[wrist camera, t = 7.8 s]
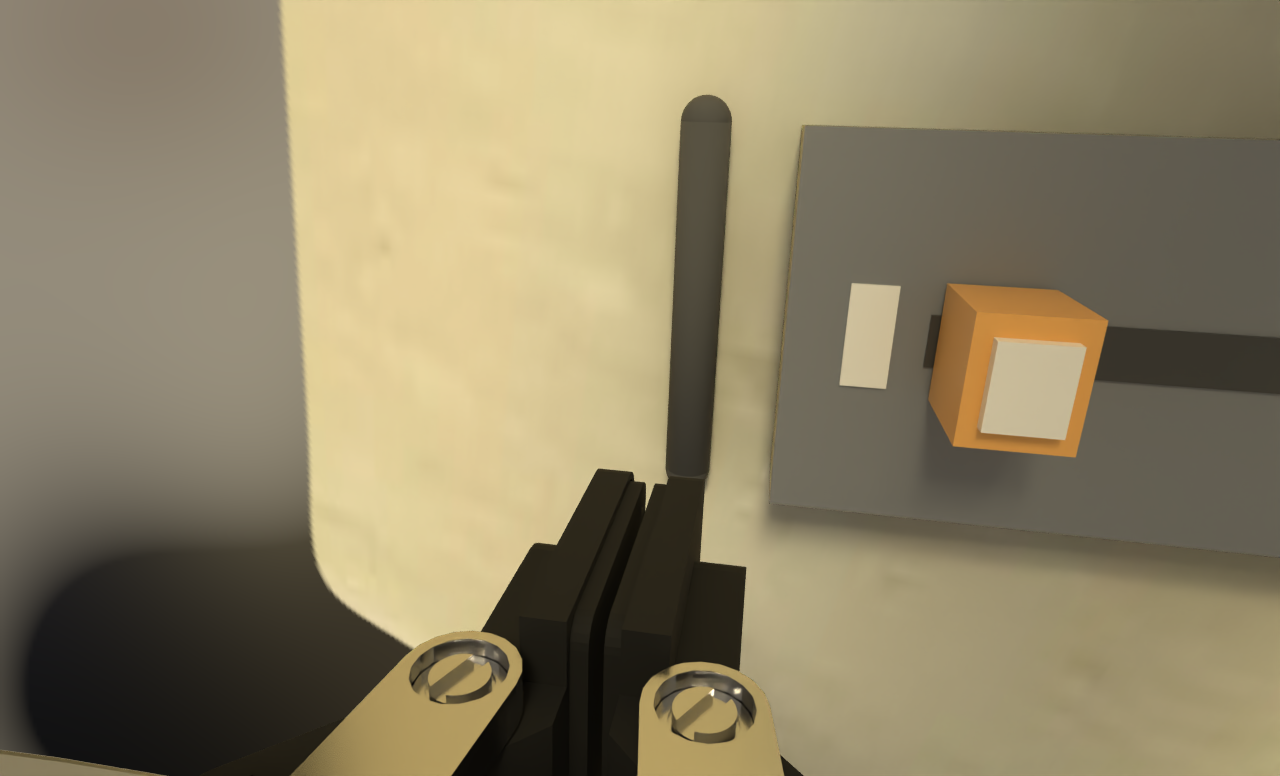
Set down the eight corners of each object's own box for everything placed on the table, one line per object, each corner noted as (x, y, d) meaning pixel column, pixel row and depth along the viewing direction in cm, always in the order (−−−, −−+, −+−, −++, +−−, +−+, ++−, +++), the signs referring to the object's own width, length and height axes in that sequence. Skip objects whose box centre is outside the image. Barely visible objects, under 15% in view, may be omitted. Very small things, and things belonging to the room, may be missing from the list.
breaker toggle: (947, 283, 22) (980, 315, 18) (1057, 290, 22) (1115, 324, 18) (928, 399, 23) (956, 452, 20) (1032, 408, 23) (1081, 463, 19)
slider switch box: (802, 124, 24) (805, 125, 21) (1530, 147, 21) (1647, 151, 18) (770, 465, 28) (768, 505, 26) (1379, 525, 25) (1456, 578, 22)
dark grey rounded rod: (685, 94, 25) (679, 93, 23) (734, 96, 24) (731, 94, 23) (668, 475, 29) (662, 494, 28) (709, 479, 29) (706, 498, 27)
